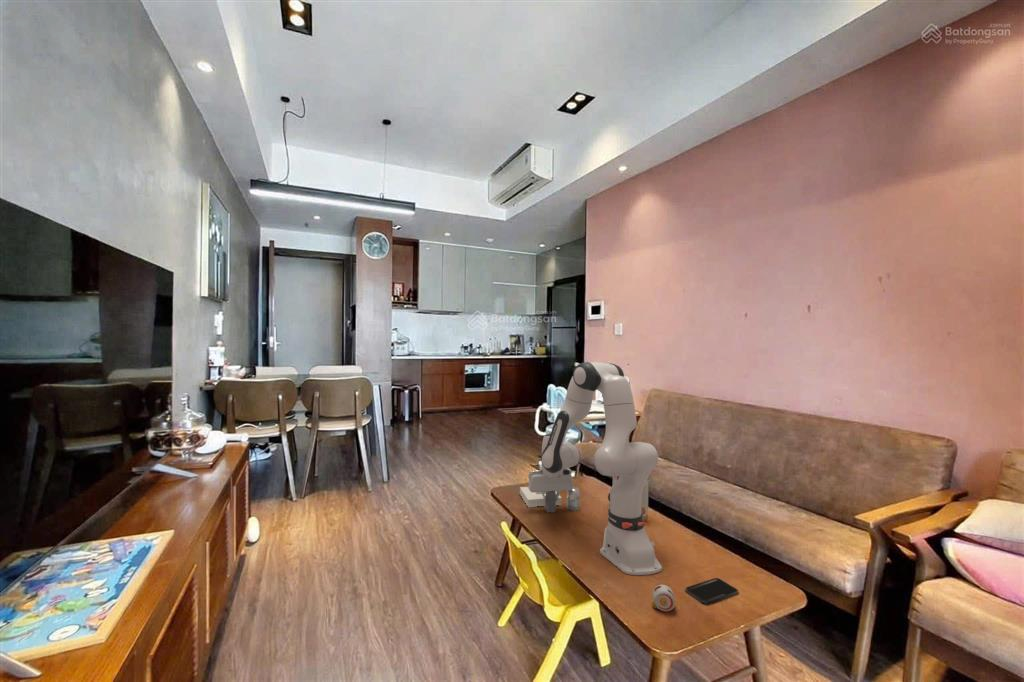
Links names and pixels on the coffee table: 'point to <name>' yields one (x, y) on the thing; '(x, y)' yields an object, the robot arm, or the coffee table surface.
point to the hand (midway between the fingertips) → (550, 500)
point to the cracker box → (644, 499)
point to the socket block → (535, 498)
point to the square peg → (550, 501)
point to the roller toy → (663, 598)
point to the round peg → (573, 499)
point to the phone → (711, 591)
